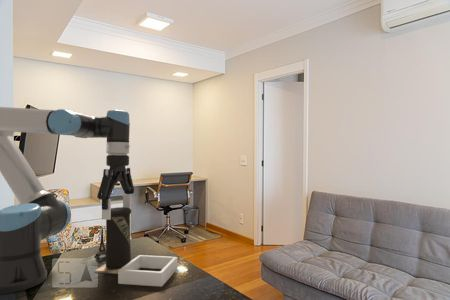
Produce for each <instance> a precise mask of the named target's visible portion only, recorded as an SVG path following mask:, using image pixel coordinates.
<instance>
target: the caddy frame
mask: <svg viewBox="0 0 450 300" xmlns="http://www.w3.org/2000/svg"><path fill="white" fill-rule="evenodd" d="M131 260H132V261H130V262H129V263H128V264H126V265H125V266H123V267H122V268H121V269H119V270H118V274H117V284H119V285H130V286H131V285H132V286H133V285H134V286H148V287H163V286H164V285H165V284H166V283H167V282H168V280H169V279H170V278H171V277H172V276H173V275H174V273H175V272H176V271H177V270H178V269H177V268H178V257H177V256H170V255H169V256H167V255H150V254H149V255H147V254H146V255H145V254H139V255H137V256H135V258H133V259H131ZM141 268H142V269H154V270H141ZM155 269H156V270H157V271H156V270H155ZM158 269H159V271H158Z"/></svg>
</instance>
